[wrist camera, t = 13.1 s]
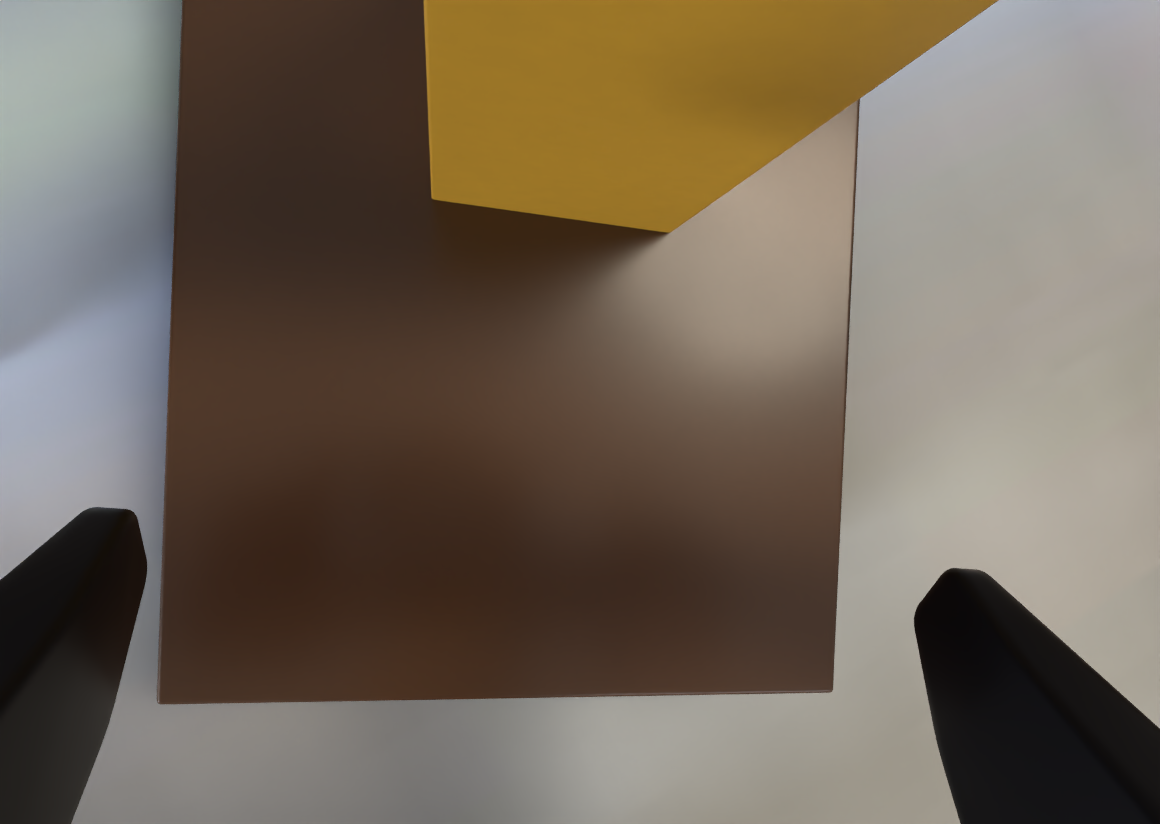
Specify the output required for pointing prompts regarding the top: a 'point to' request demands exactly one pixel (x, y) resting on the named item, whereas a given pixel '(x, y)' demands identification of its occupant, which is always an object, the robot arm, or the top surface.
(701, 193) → the block
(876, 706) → the top surface
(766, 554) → the board stand
